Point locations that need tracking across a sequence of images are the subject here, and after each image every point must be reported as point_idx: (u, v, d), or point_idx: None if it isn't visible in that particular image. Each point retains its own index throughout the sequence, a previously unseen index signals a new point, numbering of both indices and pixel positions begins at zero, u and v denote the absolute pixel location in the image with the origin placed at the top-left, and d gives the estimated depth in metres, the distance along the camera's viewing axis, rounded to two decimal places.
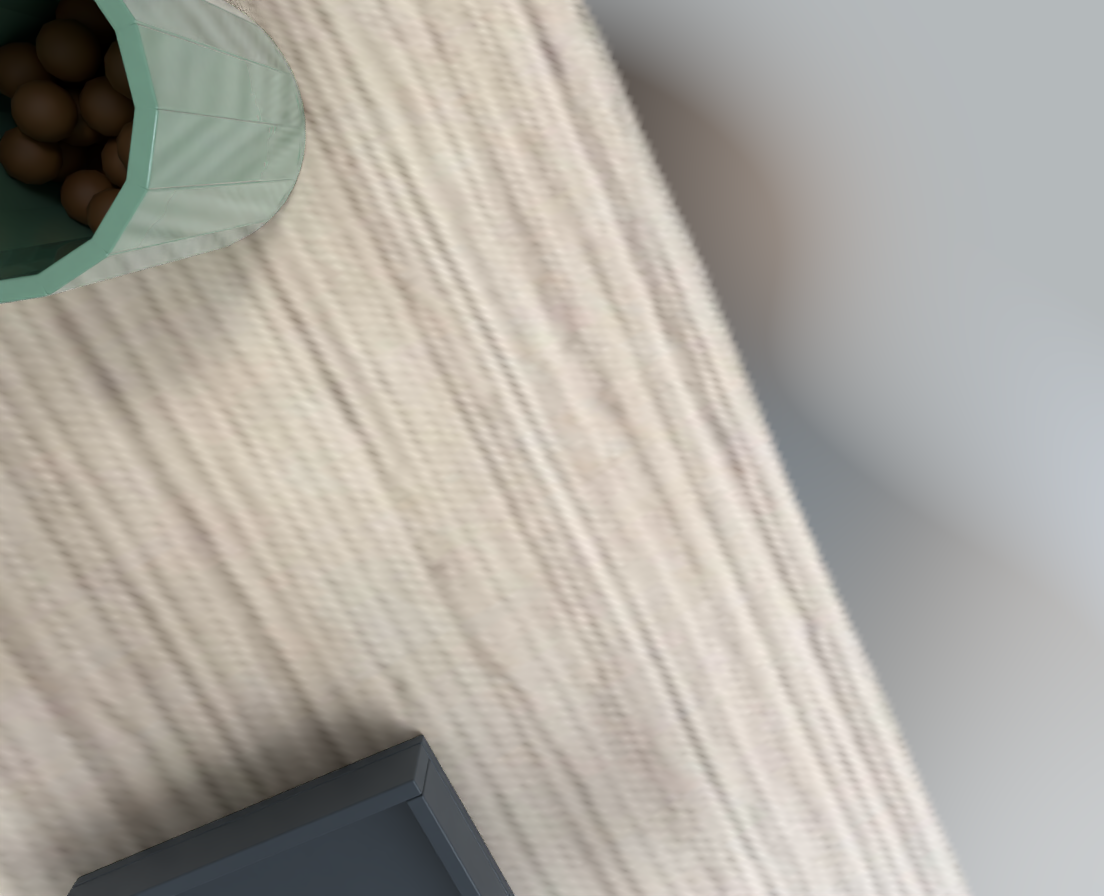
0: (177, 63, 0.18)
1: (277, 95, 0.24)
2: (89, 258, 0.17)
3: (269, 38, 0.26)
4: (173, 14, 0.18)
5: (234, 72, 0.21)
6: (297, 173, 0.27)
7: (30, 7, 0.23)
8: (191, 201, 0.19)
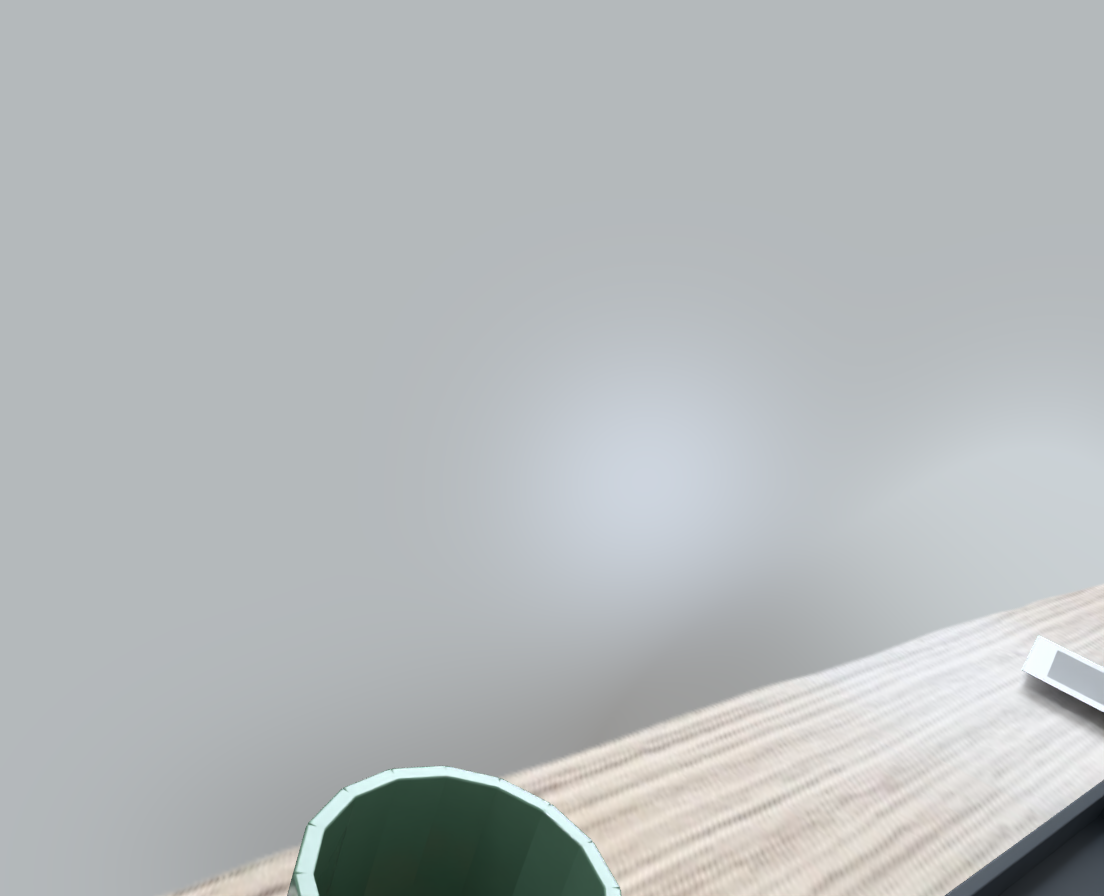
0: None
1: None
2: (557, 813, 0.23)
3: None
4: None
5: None
6: None
7: None
8: None
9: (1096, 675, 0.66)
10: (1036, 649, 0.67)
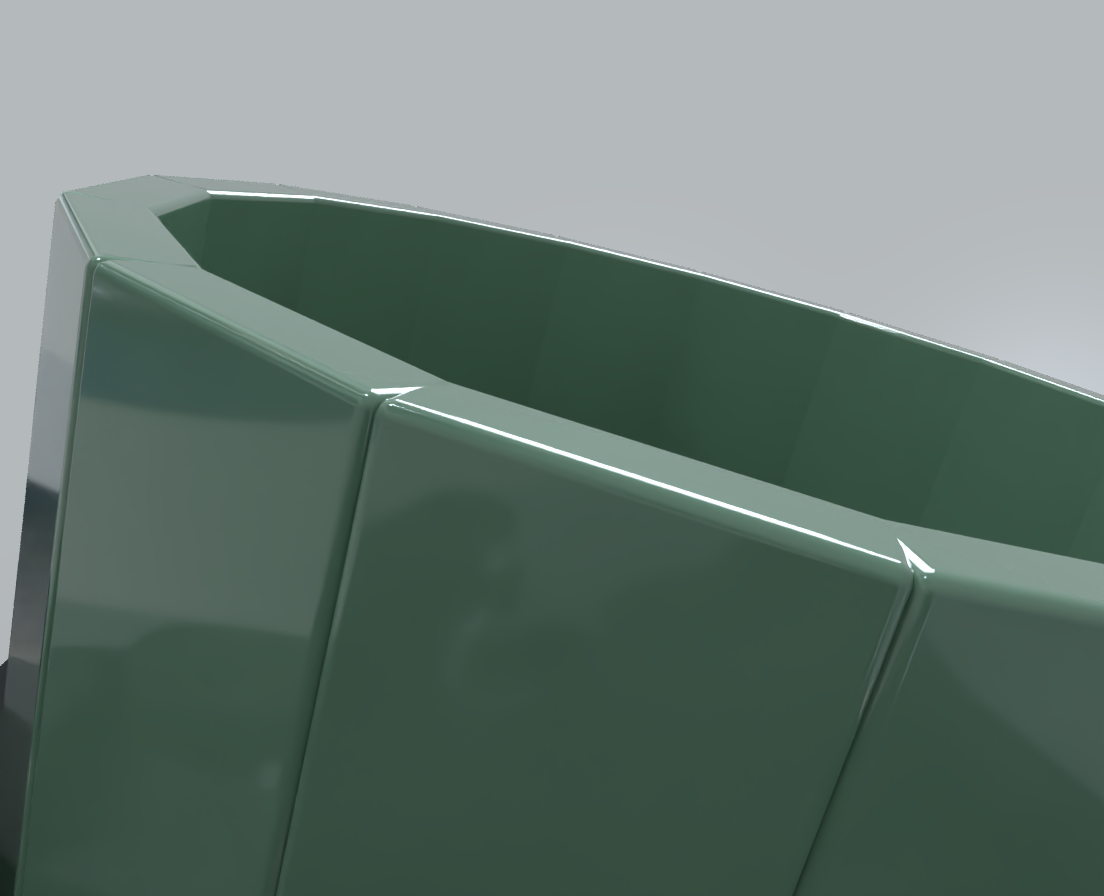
0: None
1: None
2: (877, 322, 0.08)
3: None
4: None
5: None
6: None
7: None
8: None
9: None
10: None
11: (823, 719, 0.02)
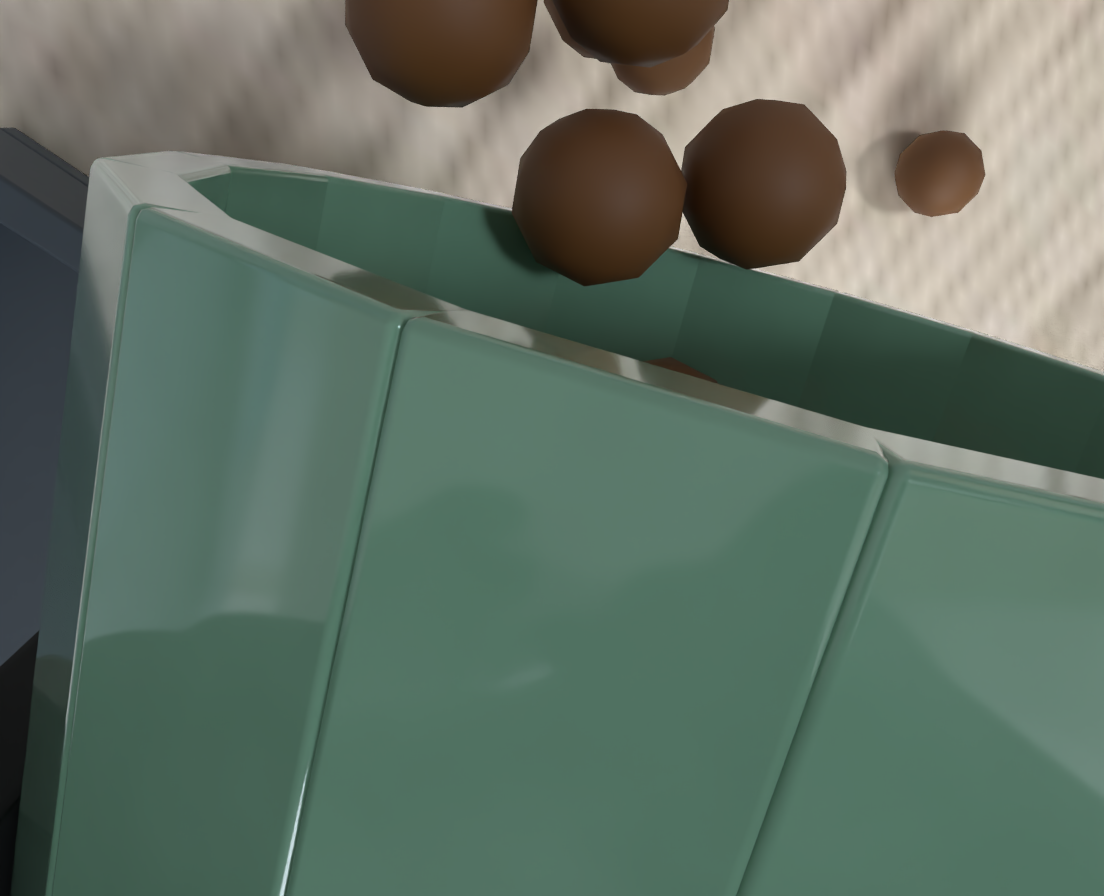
0: None
1: None
2: (870, 301, 0.09)
3: None
4: None
5: None
6: None
7: None
8: None
9: None
10: None
11: (808, 599, 0.03)
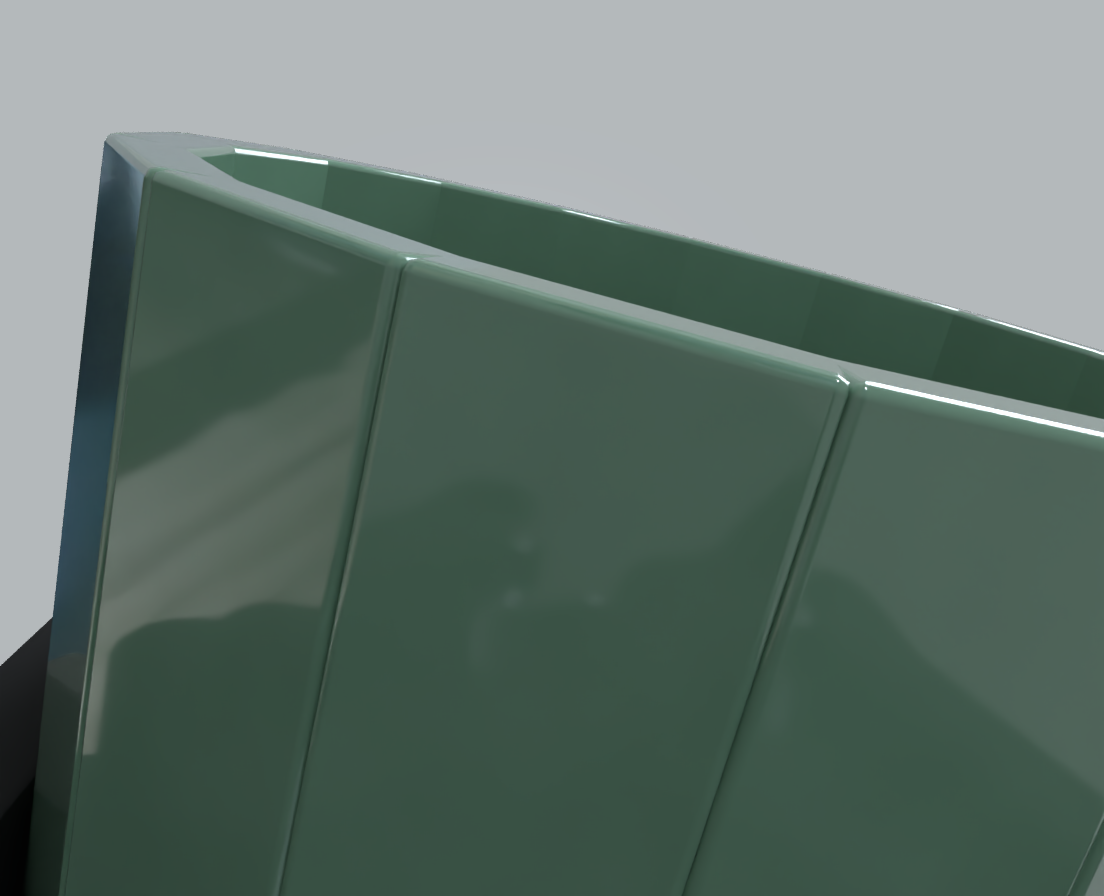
0: None
1: None
2: (858, 282, 0.09)
3: None
4: None
5: None
6: None
7: None
8: None
9: None
10: None
11: (777, 512, 0.03)
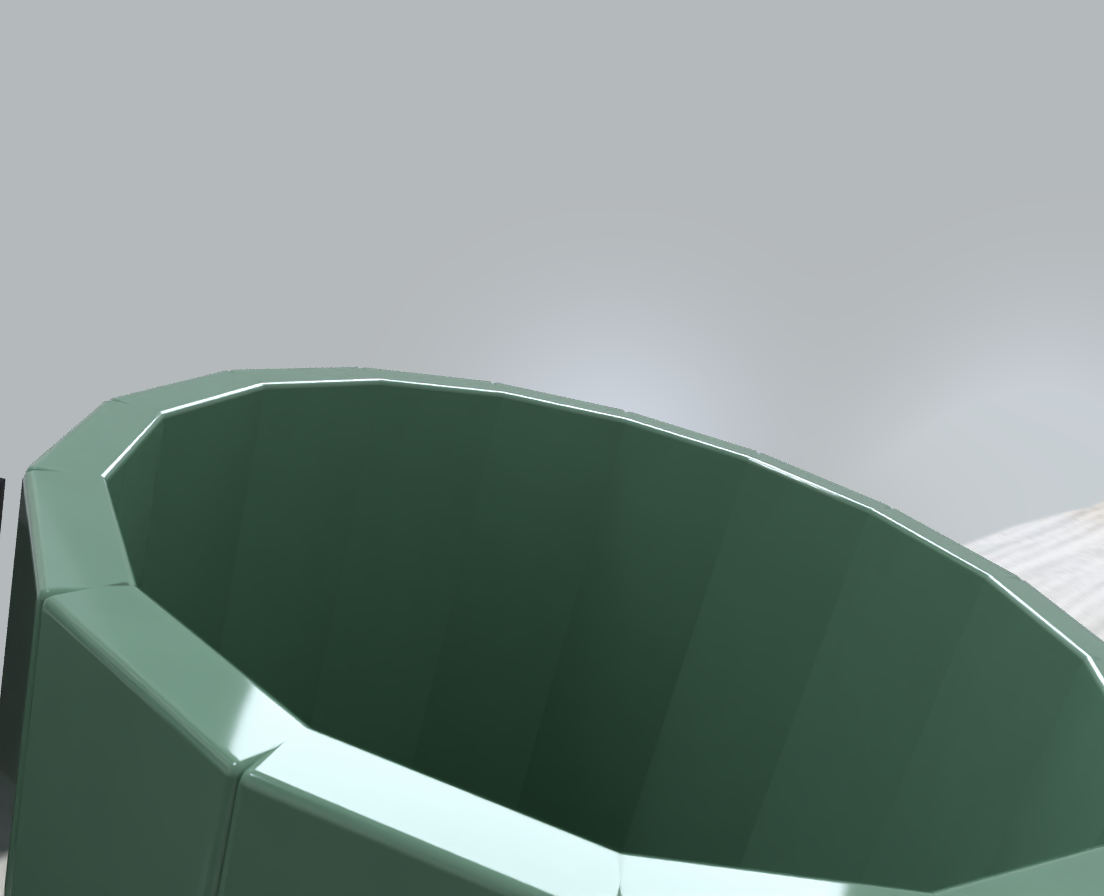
0: None
1: None
2: (784, 464, 0.09)
3: None
4: None
5: None
6: None
7: None
8: None
9: None
10: None
11: None
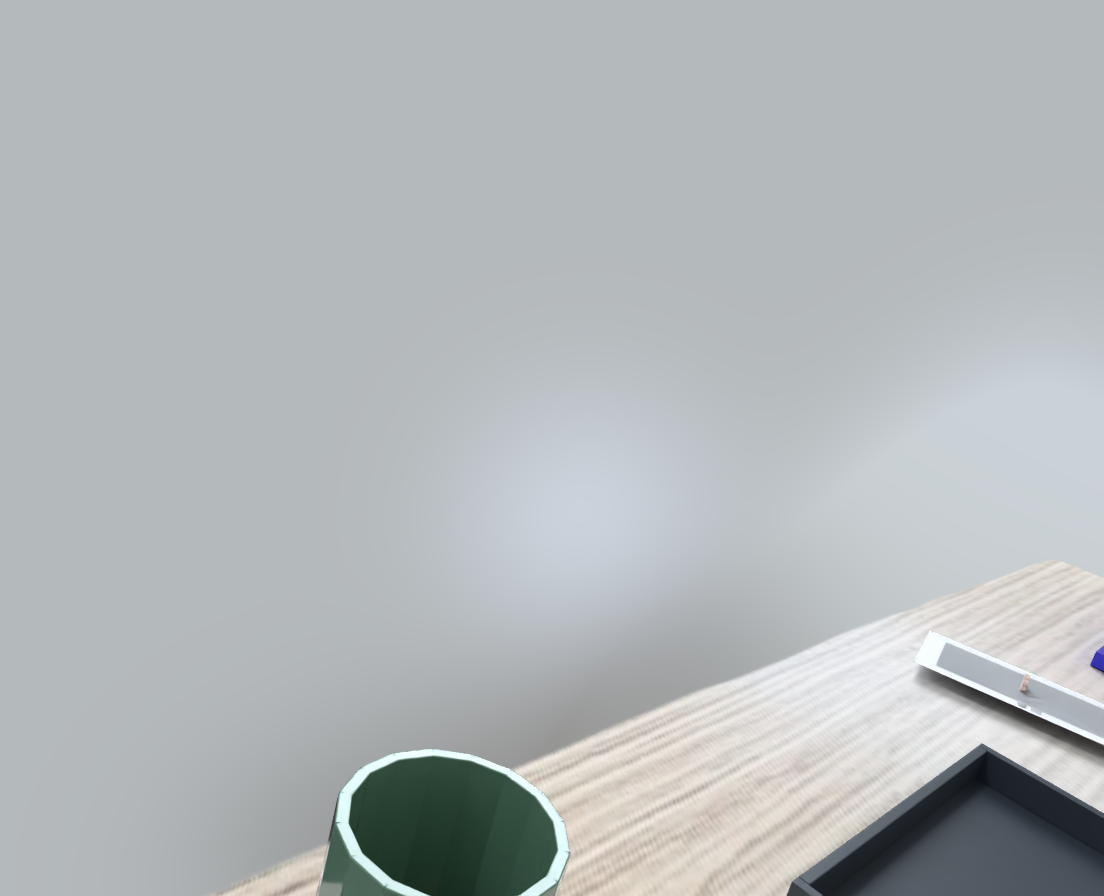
0: None
1: None
2: (516, 775, 0.31)
3: None
4: None
5: None
6: None
7: None
8: None
9: (979, 661, 0.76)
10: (927, 643, 0.77)
11: None
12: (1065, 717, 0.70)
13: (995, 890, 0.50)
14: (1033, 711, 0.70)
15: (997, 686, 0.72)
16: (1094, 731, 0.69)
